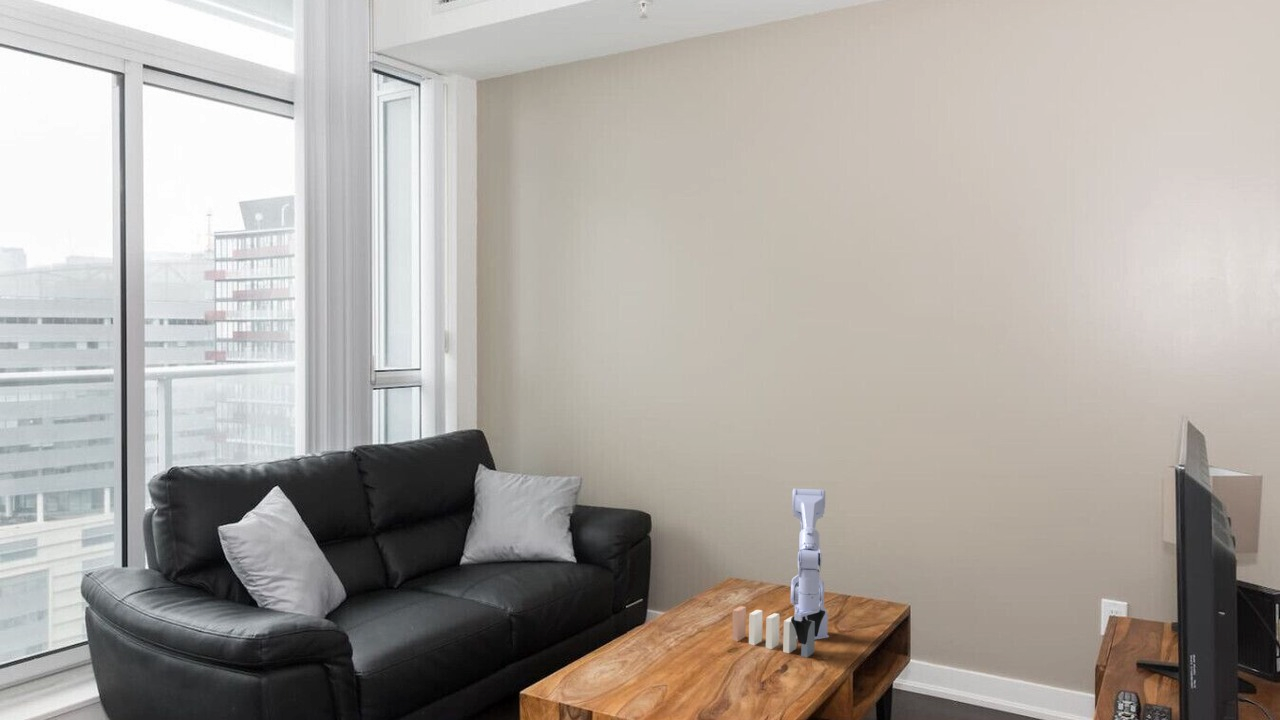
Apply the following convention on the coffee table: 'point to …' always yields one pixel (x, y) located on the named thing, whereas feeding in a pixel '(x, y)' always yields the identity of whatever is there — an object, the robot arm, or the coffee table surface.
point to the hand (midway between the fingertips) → (807, 639)
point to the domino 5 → (809, 642)
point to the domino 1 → (739, 623)
